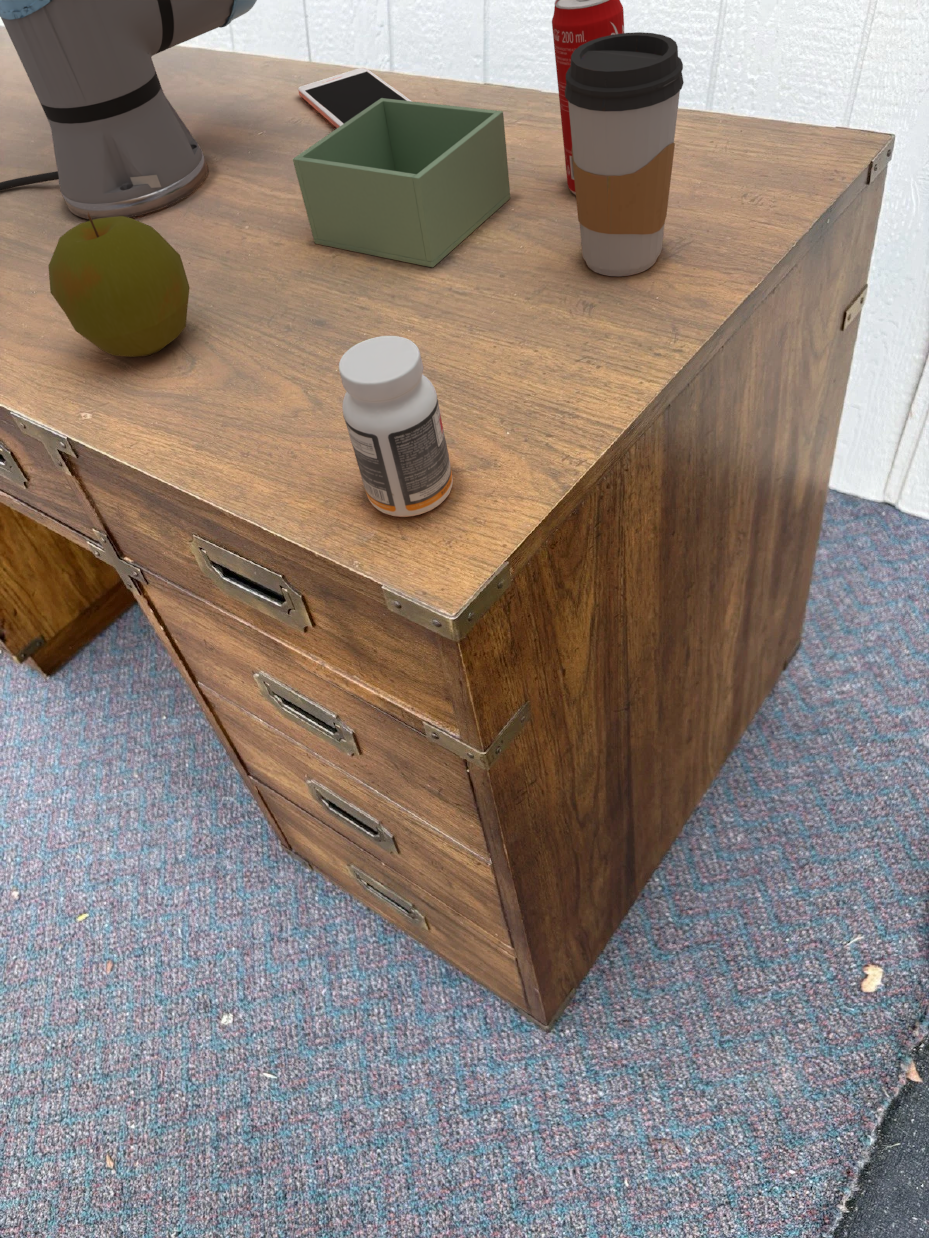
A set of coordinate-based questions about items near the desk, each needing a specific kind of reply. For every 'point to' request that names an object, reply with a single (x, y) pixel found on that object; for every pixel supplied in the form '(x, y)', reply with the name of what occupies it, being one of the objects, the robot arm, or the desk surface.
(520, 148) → the desk surface
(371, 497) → the pill bottle
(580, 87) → the coffee cup
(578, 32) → the beverage can
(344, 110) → the cell phone
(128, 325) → the apple
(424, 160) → the bin
